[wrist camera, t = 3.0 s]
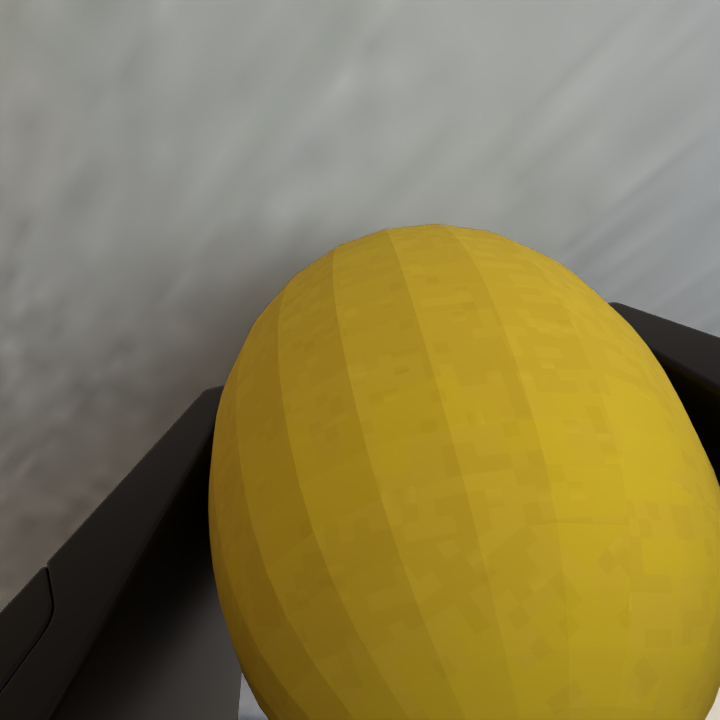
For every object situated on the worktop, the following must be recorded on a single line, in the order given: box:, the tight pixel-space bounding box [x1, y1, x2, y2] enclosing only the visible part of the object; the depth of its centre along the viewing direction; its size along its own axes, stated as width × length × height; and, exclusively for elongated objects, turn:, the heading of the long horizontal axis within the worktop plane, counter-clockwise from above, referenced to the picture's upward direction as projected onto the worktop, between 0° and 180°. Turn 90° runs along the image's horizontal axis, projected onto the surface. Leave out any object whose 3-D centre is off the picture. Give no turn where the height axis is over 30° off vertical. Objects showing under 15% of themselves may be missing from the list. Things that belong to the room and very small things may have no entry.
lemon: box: [208, 224, 720, 720], centre depth 7 cm, size 6×6×8 cm
